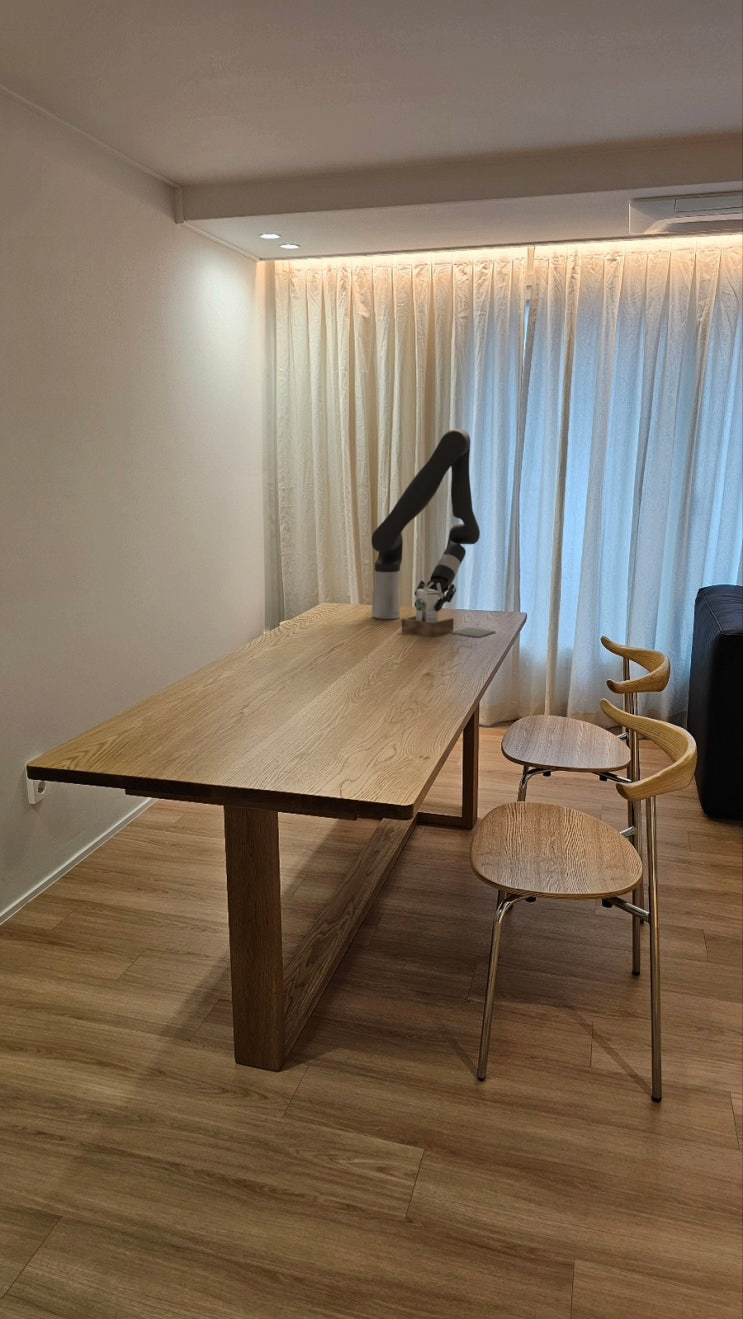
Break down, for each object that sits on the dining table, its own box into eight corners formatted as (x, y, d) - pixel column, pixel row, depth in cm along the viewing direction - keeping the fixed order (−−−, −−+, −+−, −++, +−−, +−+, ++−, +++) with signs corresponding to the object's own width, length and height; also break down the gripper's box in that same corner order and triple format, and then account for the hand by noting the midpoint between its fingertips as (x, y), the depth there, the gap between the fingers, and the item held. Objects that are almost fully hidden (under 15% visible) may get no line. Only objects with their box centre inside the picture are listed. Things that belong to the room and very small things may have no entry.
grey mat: (450, 633, 311) (450, 632, 311) (467, 628, 320) (467, 627, 320) (478, 638, 305) (478, 636, 304) (495, 632, 313) (495, 631, 313)
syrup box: (415, 631, 315) (415, 589, 312) (430, 629, 318) (430, 587, 314) (422, 634, 310) (423, 591, 307) (438, 632, 313) (439, 590, 309)
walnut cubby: (401, 632, 314) (401, 619, 313) (421, 626, 323) (421, 613, 322) (433, 637, 306) (433, 623, 305) (453, 631, 315) (453, 618, 314)
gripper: (424, 562, 320) (404, 599, 313) (459, 565, 311) (439, 604, 305) (432, 575, 325) (413, 613, 319) (467, 579, 316) (448, 617, 310)
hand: (426, 608), depth 312 cm, fingers closed on syrup box, 7 cm apart
